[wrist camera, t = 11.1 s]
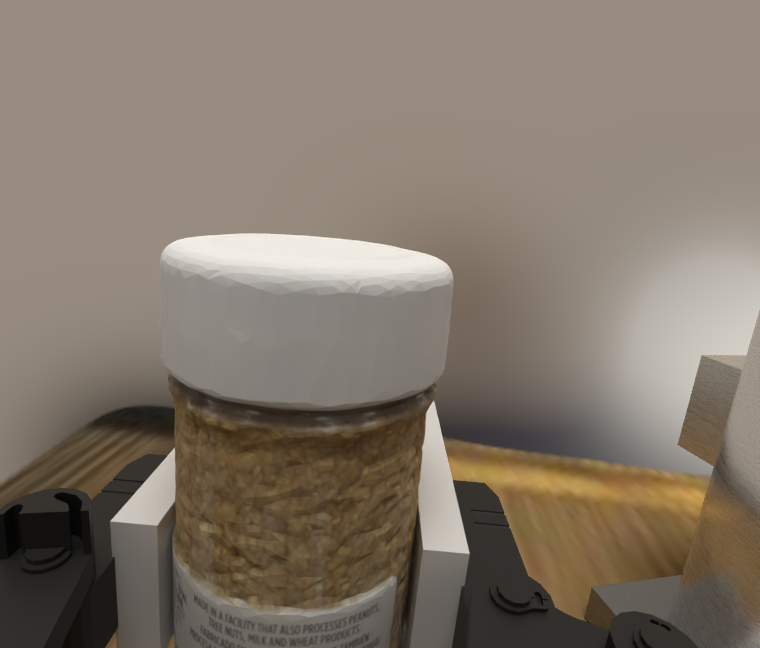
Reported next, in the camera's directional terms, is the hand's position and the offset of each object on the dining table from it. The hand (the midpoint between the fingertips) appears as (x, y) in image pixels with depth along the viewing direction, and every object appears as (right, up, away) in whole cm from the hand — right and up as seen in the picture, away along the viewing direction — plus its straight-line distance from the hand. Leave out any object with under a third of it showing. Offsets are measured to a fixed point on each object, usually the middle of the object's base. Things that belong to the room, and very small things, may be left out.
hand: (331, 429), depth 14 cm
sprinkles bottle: (-1, -9, -3) cm, 9 cm away
